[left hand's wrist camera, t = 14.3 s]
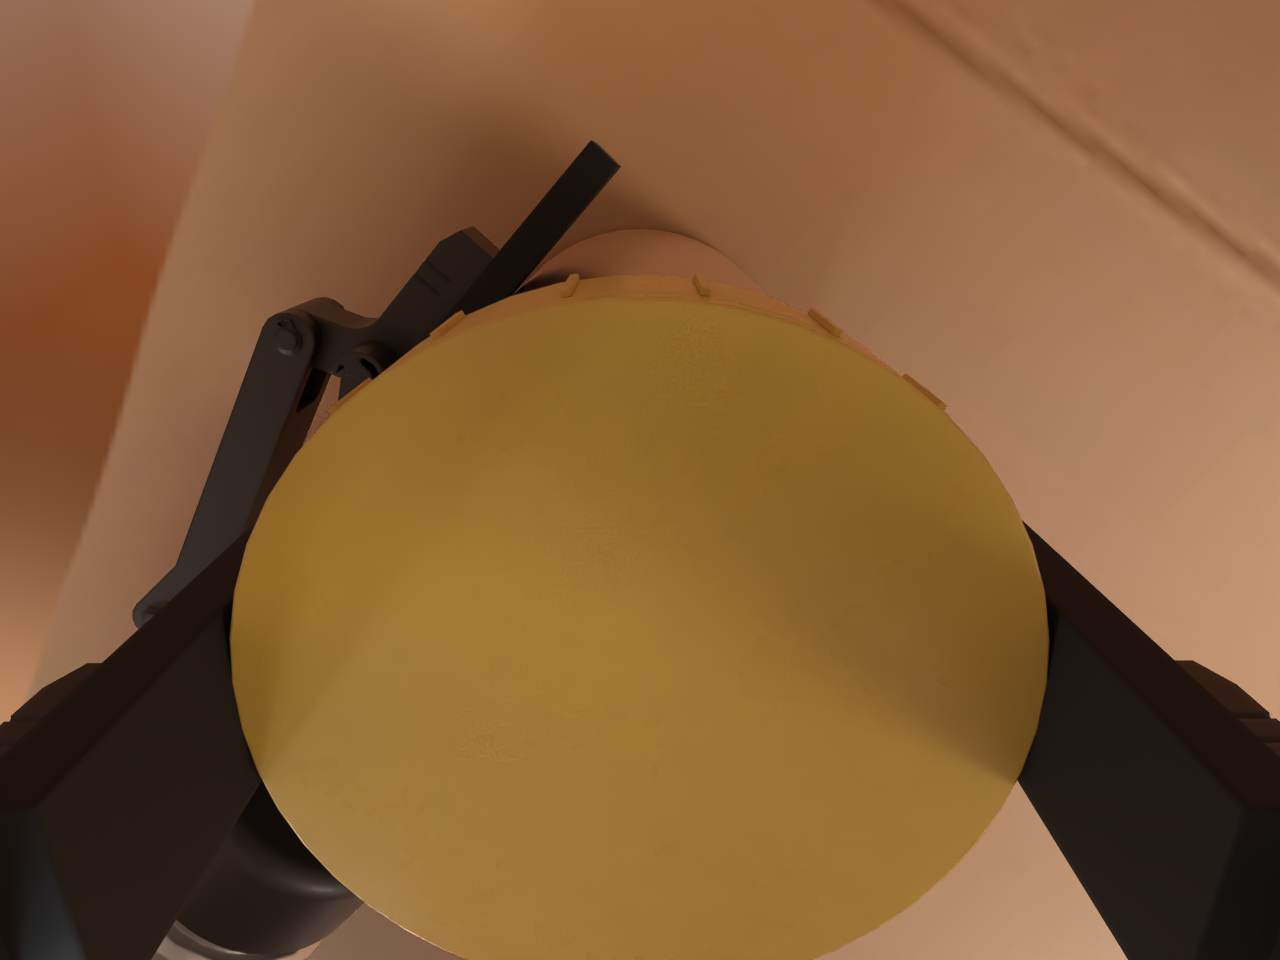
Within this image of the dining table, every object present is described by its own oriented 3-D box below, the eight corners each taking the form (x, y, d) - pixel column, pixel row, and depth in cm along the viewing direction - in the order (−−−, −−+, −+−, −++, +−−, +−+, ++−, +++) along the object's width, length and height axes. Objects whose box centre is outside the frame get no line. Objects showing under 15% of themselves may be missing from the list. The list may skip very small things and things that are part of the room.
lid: (1073, 297, 10) (1166, 324, 9) (918, 903, 14) (960, 1012, 12) (254, 240, 10) (169, 256, 8) (317, 873, 14) (268, 980, 12)
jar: (840, 404, 27) (1121, 736, 11) (616, 561, 29) (587, 1027, 13) (668, 161, 24) (720, 148, 8) (435, 353, 26) (129, 628, 10)
